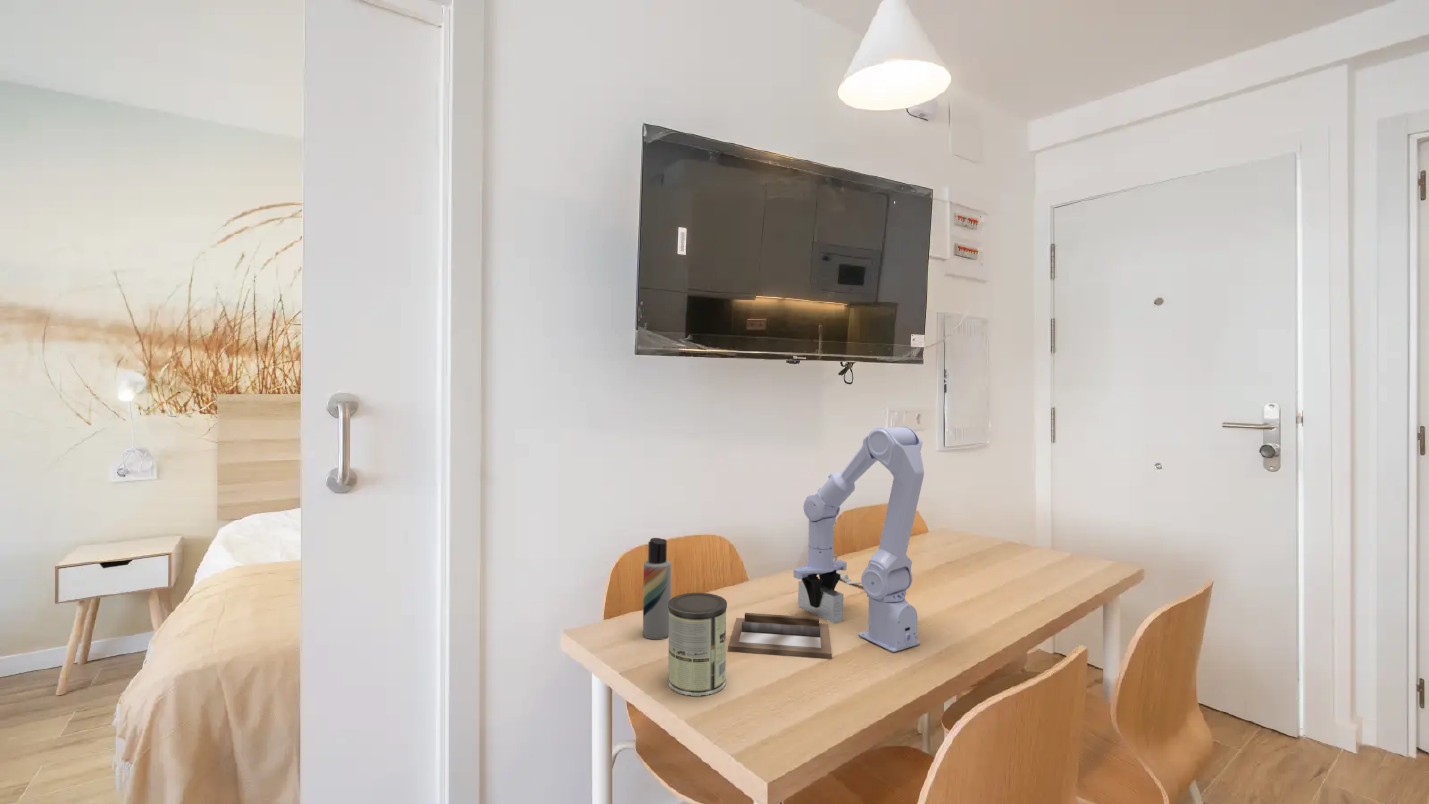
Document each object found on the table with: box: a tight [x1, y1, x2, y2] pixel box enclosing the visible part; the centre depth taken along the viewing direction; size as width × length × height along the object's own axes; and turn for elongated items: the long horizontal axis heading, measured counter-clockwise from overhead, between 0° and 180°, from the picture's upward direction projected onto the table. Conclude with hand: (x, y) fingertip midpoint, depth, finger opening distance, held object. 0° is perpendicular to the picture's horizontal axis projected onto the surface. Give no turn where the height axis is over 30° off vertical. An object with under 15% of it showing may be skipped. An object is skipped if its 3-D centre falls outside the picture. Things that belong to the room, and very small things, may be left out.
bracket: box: [833, 554, 862, 585], centre depth 159 cm, size 2×6×15 cm
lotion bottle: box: [642, 537, 672, 640], centre depth 124 cm, size 6×6×20 cm
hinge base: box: [727, 612, 833, 660], centre depth 122 cm, size 20×15×3 cm
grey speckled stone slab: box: [797, 580, 844, 624], centre depth 137 cm, size 12×3×6 cm, turn 32°
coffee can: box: [667, 592, 728, 697], centre depth 104 cm, size 10×10×14 cm
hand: (820, 605), depth 137 cm, fingers closed on grey speckled stone slab, 3 cm apart
